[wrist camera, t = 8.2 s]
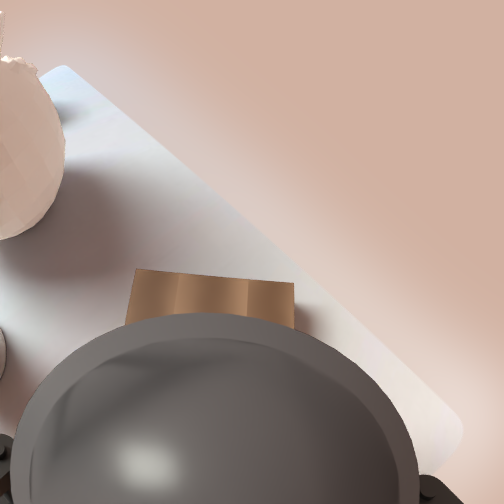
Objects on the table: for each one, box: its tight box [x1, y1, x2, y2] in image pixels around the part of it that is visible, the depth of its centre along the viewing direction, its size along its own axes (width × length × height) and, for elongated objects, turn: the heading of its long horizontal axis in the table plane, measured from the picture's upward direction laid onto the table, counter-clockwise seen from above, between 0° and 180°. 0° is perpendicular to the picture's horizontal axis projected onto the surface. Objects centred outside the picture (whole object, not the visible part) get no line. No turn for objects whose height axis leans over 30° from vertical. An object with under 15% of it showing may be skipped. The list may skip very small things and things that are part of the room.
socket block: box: [125, 269, 294, 329], centre depth 26 cm, size 14×14×4 cm
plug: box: [10, 312, 420, 504], centre depth 8 cm, size 5×5×13 cm
